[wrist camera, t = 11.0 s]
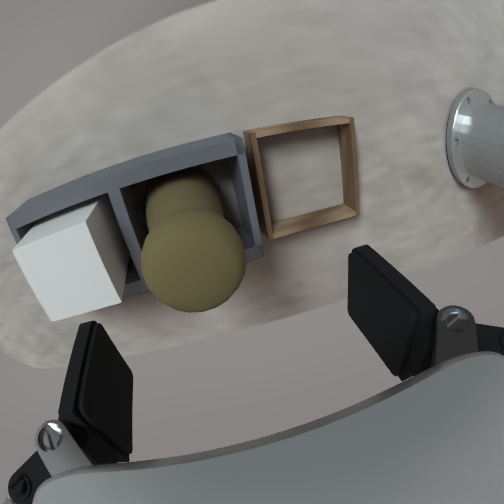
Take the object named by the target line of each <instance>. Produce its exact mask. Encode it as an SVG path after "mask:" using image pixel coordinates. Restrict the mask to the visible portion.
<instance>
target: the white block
mask: <svg viewBox="0 0 504 504" xmlns="http://www.w3.org/2000/svg"><path fill="white" fill-rule="evenodd" d="M12 251H13V253H14V255H15V257H16V259H17V261H18V263H19V265H20V267H21V269H22V271H23V273H24V275H25V277H26V279H27V281H28V282H29V284H30V286H31V288H32V290H33V291H34V293H35V295H36V297H37V298H38V300H39V302H40V303H41V305H42V307H43V308H44V310H45V312H46V313H47V315H48V316H49V318H50V320H51V321H52V322H53V321H57V320H60V319H64V318H68V317H72V316H75V315H79V314H82V313H86V312H90V311H93V310H97V309H101V308H104V307H108V306H111V305H115V304H119V303H122V298H123V291H124V285H125V279H126V274H127V268H128V263H129V257H130V252H129V249H128V247H127V244H126V242H125V239H124V237H123V234H122V231H121V229H120V226H119V223H118V220H117V218H116V215H115V212H114V209H113V206H112V204H111V201H110V198H109V195H108V193H105V194H102V195H99V196H96V197H94V198H91V199H88V200H85V201H83V202H80V203H77V204H75V205H72V206H70V207H67V208H64V209H62V210H59V211H57V212H54V213H52V214H50V215H47V216H45V217H42V218H40V219H39V221H38V222H37V223H36V224H35V225H34V226H33V227H32V228H31V229H30V230H29V231H28V233H27V234H26V235H25V236H24V237H23V238H22V239H21V241H20V242H19V243H18V244H17V245H16V246H15V248H14V249H13V250H12Z"/></svg>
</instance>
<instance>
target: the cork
mask: <svg viewBox="0 0 504 504" xmlns="http://www.w3.org/2000/svg"><path fill="white" fill-rule="evenodd" d="M144 211H145V216H146V221H147V226H148V230H149V234H148V235H147V237H146V239H145V242H144V246H143V249H142V253H141V268H142V274H143V277H144V279H145V281H146V284H147V286H148V288H149V290H150V292H151V293H152V294H153V295H154V296H155V297H156V298H157V299H158V300H159V301H160V302H162V303H164V304H166V305H168V306H169V307H171V308H173V309H175V310H179V311H184V312H189V313H190V312H204V311H207V310H210V309H213V308H216V307H218V306H219V305H221V304H222V303H224V302H225V301H227V300H228V299H229V298H230V297H231V296H232V294H233V293H234V292H235V291H236V290H237V289H238V287H239V285H240V283H241V281H242V279H243V277H244V275H245V266H246V253H245V249H244V245H243V241H242V239H241V237H240V236H239V234H238V233H237V231H236V230H235V228H234V227H233V226H232V224H231V223H230V222H228V221H227V220H226V219H224V214H223V207H222V200H221V195H220V192H219V188H218V186H217V184H216V183H215V181H214V180H213V178H212V177H211V176H210V175H208V174H207V173H206V172H204V171H203V170H201V169H198V168H196V167H193V166H192V167H188V168H185V169H181V170H178V171H174V172H171V173H167V174H164V175H160V176H157V177H155V178H154V179H153V181H152V182H151V183H150V185H149V186H148V188H147V191H146V194H145V198H144Z"/></svg>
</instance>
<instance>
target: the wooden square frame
mask: <svg viewBox="0 0 504 504" xmlns="http://www.w3.org/2000/svg"><path fill="white" fill-rule="evenodd" d="M330 125H338V134H339V144H340V155H341V167H342V181H343V197H344V204H341V205H338V206H334V207H330V208H326V209H322V210H318V211H315V212H311V213H307V214H303V215H300V216H296V217H292V218H288V219H285V220H281V221H277V222H274V223H271V220H270V214H269V208H268V202H267V196H266V190H265V184H264V178H263V172H262V166H261V160H260V155H259V149H258V143H257V138H259V137H264V136H269V135H274V134H280V133H285V132H291V131H297V130H303V129H310V128H316V127H323V126H330ZM243 133H244V138H245V144H246V149H247V154H248V160H249V165H250V171H251V176H252V181H253V187H254V192H255V198H256V203H257V209H258V215H259V220H260V226H261V231H262V232H263V233H264V235H265V236H266V237H267V239H268V240H271V239H275V238H278V237H282V236H285V235H289V234H293V233H296V232H300V231H303V230H307V229H310V228H314V227H317V226H321V225H324V224H328V223H331V222H335V221H339V220H342V219H346V218H349V217H353V216H356V215H359V183H358V164H357V149H356V137H355V126H354V118H352V117H346V116H335V117H326V118H318V119H311V120H304V121H297V122H291V123H285V124H279V125H273V126H268V127H262V128H257V129H252V130H247V131H243Z"/></svg>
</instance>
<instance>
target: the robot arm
mask: <svg viewBox="0 0 504 504" xmlns="http://www.w3.org/2000/svg"><path fill="white" fill-rule="evenodd" d="M446 144H447V154H448V160H449V164H450V167H451V170H452V172H453V174H454V176H455V178H456V179H457V180H458V181H459V182H460V183H461V184H462V185H464V186H467V187H469V188H478V187H481V186H482V185H484V184H485V183H486V182H488V183H491V184H493V185H495V186H497V187H499V188H501V189H504V107H503V106H499V105H495V103H494V101H493V99H492V98H491V97H490V96H489V94H487V93H486V92H485V91H483V90H480V89H474V88H470V89H466V90H465V91H463V92H462V93H461V94H460V95H459V96H458V97H457V99H456V101H455V103H454V104H453V107H452V109H451V112H450V116H449V120H448V126H447V140H446ZM348 313H349V315H350V317H351V318H352V320H353V321H354V322H355V324H356V325H357V326H358V328H359V329H360V331H361V332H362V333H363V334H364V336H365V337H366V338H367V340H368V341H369V343H370V344H371V345H372V347H373V348H374V349H375V351H376V352H377V354H378V355H379V356H380V358H381V359H382V360H383V362H384V363H385V365H386V366H387V367H388V369H389V370H390V371H391V373H392V374H393V375H394V376H397V375H398V376H399V378H400V379H401V381H404V380H406V379H408V378H410V377H412V376H413V377H412V378H410V379H408V380H406V381H404V382H402V383H400V384H398V385H396V386H394V387H392V388H389V389H387V390H385V391H383V392H381V393H379V394H377V395H375V396H372V397H370V398H368V399H366V400H364V401H361V402H359V403H357V404H355V405H352V406H350V407H347V408H345V409H343V410H340V411H338V412H335V413H333V414H330V415H328V416H325V417H322V418H320V419H317V420H314V421H312V422H309V423H306V424H303V425H300V426H297V427H294V428H291V429H288V430H285V431H282V432H278V433H275V434H272V435H269V436H265V437H262V438H258V439H254V440H251V441H247V442H243V443H239V444H235V445H231V446H227V447H222V448H218V449H213V450H208V451H203V452H198V453H193V454H187V455H181V456H175V457H169V458H161V459H153V460H145V461H137V462H129V454H131V453H132V400H133V398H132V397H133V374H132V371H131V370H130V368H129V367H128V365H127V364H126V362H125V361H124V359H123V358H122V356H121V355H120V353H119V352H118V350H117V348H116V347H115V345H114V344H113V342H112V341H111V339H110V337H109V336H108V334H107V332H106V331H105V329H104V328H103V326H102V325H101V324H100V323H98V324H97V322H96V321H90V322H86V323H82V324H80V326H79V329H78V332H77V336H76V339H75V343H74V346H73V350H72V354H71V357H70V361H69V365H68V370H67V374H66V378H65V382H64V387H63V392H62V396H61V401H60V406H59V412H58V414H59V418H58V420H48V421H46V422H45V423H43V424H42V425H41V426H40V427H39V428H38V430H37V432H36V435H35V447H36V449H37V451H36V452H35V453H34V454H33V455H32V456H31V457H30V458H29V459H28V460H27V461H26V462H25V463H24V464H23V465H22V466H21V467H20V468H19V469H18V470H17V471H16V472H15V473H14V474H13V475H12V477H11V478H10V481H9V485H8V491H9V495H10V499H8V498H6V500H5V501H4V504H504V328H502V327H495V326H489V325H482V324H476V323H475V319H474V317H473V315H472V314H471V313H470V312H469V311H468V310H467V309H465V308H463V307H460V306H456V305H452V306H446V307H444V308H442V309H441V310H440V311H439V310H438V309H437V308H436V307H435V305H434V304H433V303H432V302H431V301H430V300H429V299H428V298H427V297H426V296H425V295H424V294H423V293H422V292H420V291H419V290H418V289H417V288H416V287H415V286H414V285H413V284H412V283H411V282H410V281H408V280H407V279H406V278H405V277H404V276H403V275H402V274H401V273H400V272H399V271H397V270H396V269H395V268H394V267H393V266H392V265H391V264H390V263H388V262H387V261H386V260H385V259H384V258H383V257H382V256H380V255H379V254H378V253H377V252H376V251H375V250H373V249H372V248H371V247H370V246H369V245H363V246H360V247H357V248H354V249H352V253H350V254H349V256H348ZM117 462H127V463H117Z"/></svg>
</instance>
